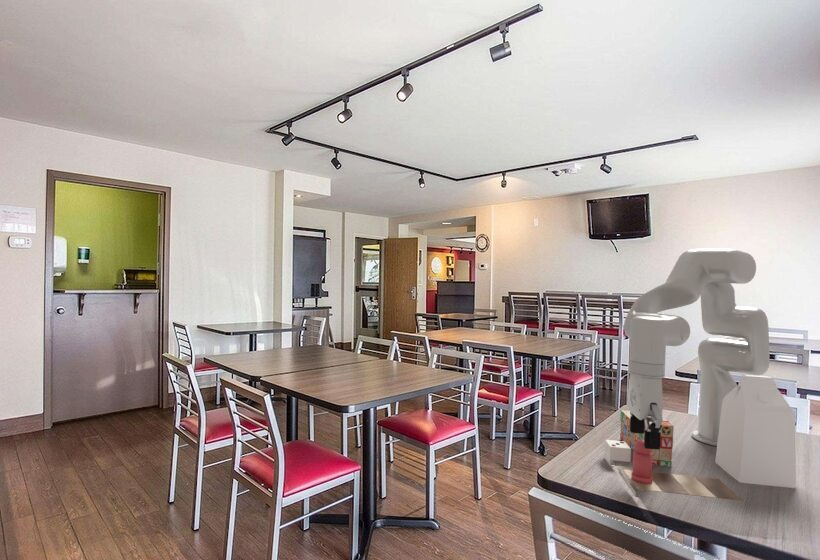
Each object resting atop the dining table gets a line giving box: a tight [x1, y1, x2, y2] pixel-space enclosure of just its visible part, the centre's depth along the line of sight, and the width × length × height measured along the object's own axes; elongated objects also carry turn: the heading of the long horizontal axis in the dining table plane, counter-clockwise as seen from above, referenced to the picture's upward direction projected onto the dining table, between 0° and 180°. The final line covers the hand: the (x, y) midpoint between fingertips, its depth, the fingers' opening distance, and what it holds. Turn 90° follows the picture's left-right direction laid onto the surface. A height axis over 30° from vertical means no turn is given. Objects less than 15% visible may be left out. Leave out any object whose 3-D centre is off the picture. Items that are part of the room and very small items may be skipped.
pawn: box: [631, 440, 653, 484], centre depth 105 cm, size 4×4×9 cm
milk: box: [714, 374, 797, 489], centre depth 110 cm, size 12×12×26 cm
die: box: [604, 439, 632, 467], centre depth 118 cm, size 5×5×5 cm
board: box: [618, 468, 744, 501], centre depth 103 cm, size 23×12×1 cm, turn 81°
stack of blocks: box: [620, 409, 675, 468], centre depth 124 cm, size 21×6×12 cm, turn 171°
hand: (644, 440), depth 105 cm, fingers open, 9 cm apart
